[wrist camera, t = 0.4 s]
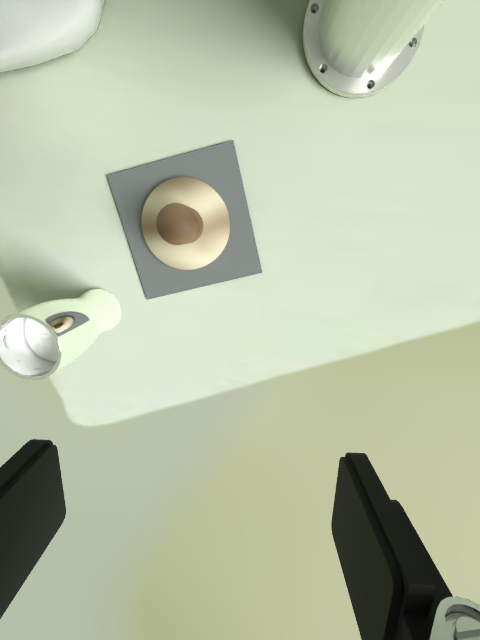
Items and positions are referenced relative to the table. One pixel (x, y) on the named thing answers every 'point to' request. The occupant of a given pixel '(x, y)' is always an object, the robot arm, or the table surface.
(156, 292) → the mat
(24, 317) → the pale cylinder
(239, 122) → the table surface
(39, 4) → the lung model
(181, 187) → the lid
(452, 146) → the table surface
